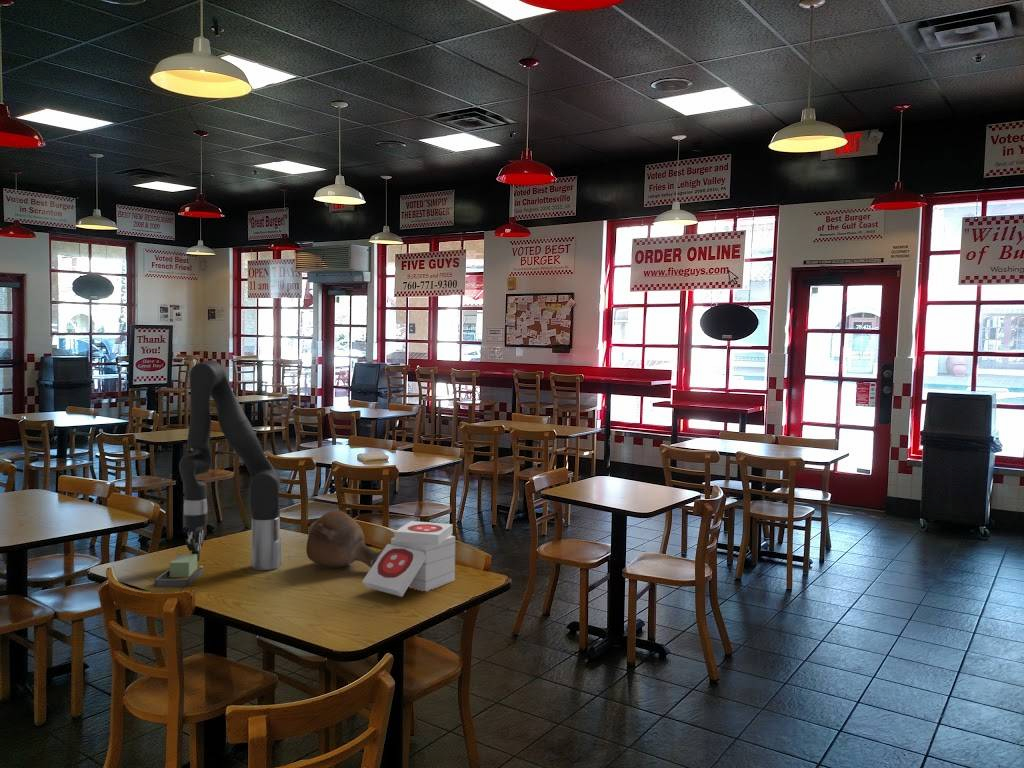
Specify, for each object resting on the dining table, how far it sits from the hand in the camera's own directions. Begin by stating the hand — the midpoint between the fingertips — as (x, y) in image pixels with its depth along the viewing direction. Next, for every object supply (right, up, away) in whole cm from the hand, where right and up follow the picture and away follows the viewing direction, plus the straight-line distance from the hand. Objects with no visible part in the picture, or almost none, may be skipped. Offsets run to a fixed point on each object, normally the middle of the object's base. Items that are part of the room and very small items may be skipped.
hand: (195, 561), depth 266 cm
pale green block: (-1, -2, -8) cm, 8 cm away
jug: (+52, -3, +1) cm, 52 cm away
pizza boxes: (+77, -4, -17) cm, 79 cm away
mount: (+1, -2, -15) cm, 15 cm away
